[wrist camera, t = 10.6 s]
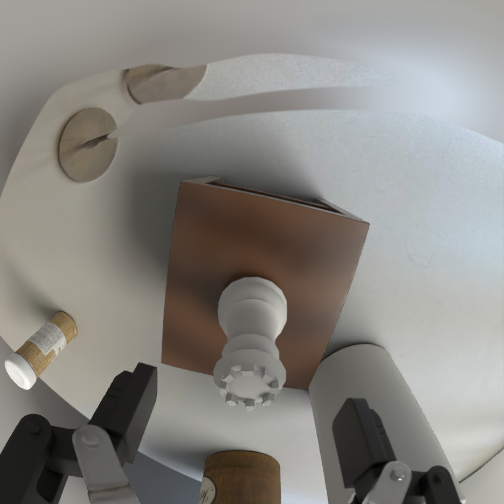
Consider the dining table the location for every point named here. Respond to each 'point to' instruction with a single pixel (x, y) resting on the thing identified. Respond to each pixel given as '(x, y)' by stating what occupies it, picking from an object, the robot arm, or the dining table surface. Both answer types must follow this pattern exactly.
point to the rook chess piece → (251, 342)
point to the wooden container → (240, 479)
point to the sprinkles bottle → (40, 350)
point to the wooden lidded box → (256, 270)
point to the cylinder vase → (385, 405)
